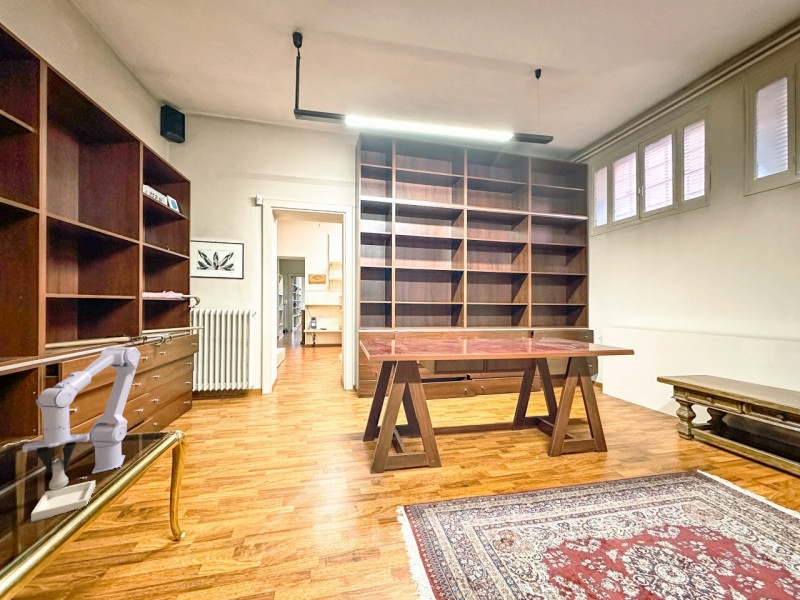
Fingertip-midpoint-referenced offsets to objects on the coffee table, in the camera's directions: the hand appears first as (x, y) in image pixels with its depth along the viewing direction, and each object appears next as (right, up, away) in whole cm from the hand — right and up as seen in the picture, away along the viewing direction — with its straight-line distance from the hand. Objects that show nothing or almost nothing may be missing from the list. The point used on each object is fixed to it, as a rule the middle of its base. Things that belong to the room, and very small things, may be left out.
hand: (58, 467), depth 104 cm
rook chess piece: (0, -6, +1) cm, 6 cm away
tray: (+5, -10, -2) cm, 11 cm away
